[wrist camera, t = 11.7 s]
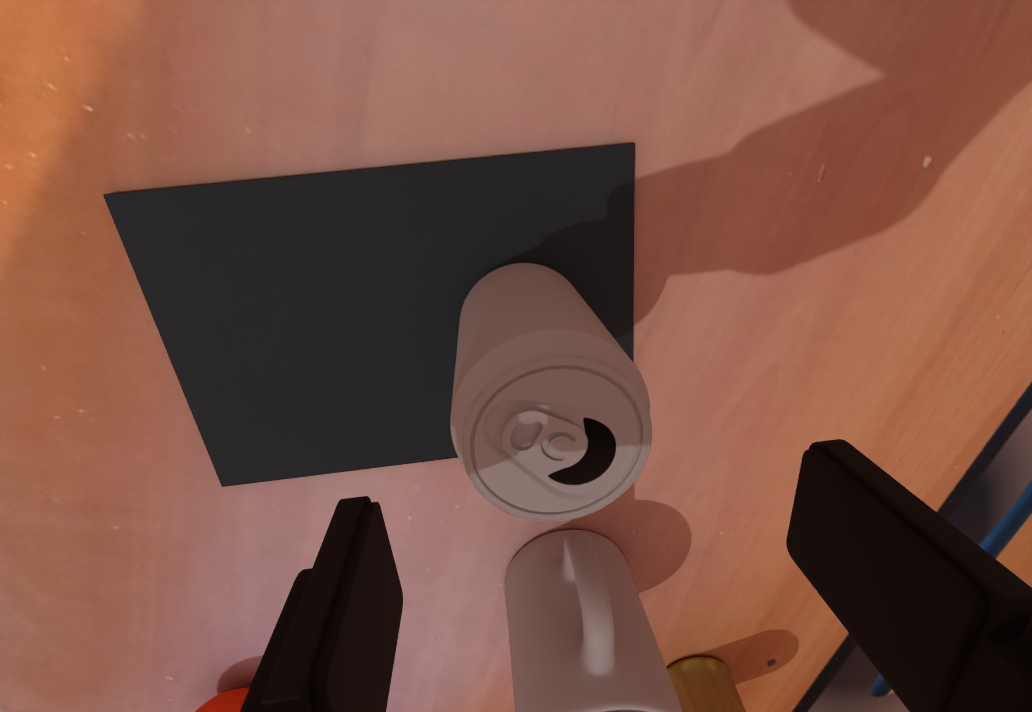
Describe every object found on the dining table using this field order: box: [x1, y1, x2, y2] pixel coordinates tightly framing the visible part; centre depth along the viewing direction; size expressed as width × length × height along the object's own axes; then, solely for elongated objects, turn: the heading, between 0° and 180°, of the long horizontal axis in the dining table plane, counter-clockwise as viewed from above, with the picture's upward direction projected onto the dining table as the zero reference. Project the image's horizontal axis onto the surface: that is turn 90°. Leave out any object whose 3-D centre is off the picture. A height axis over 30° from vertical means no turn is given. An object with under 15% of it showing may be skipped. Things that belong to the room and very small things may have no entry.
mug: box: [505, 529, 683, 712], centre depth 27 cm, size 12×8×11 cm
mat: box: [103, 143, 635, 487], centre depth 25 cm, size 24×16×1 cm, turn 95°
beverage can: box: [450, 263, 652, 522], centre depth 19 cm, size 6×6×12 cm
